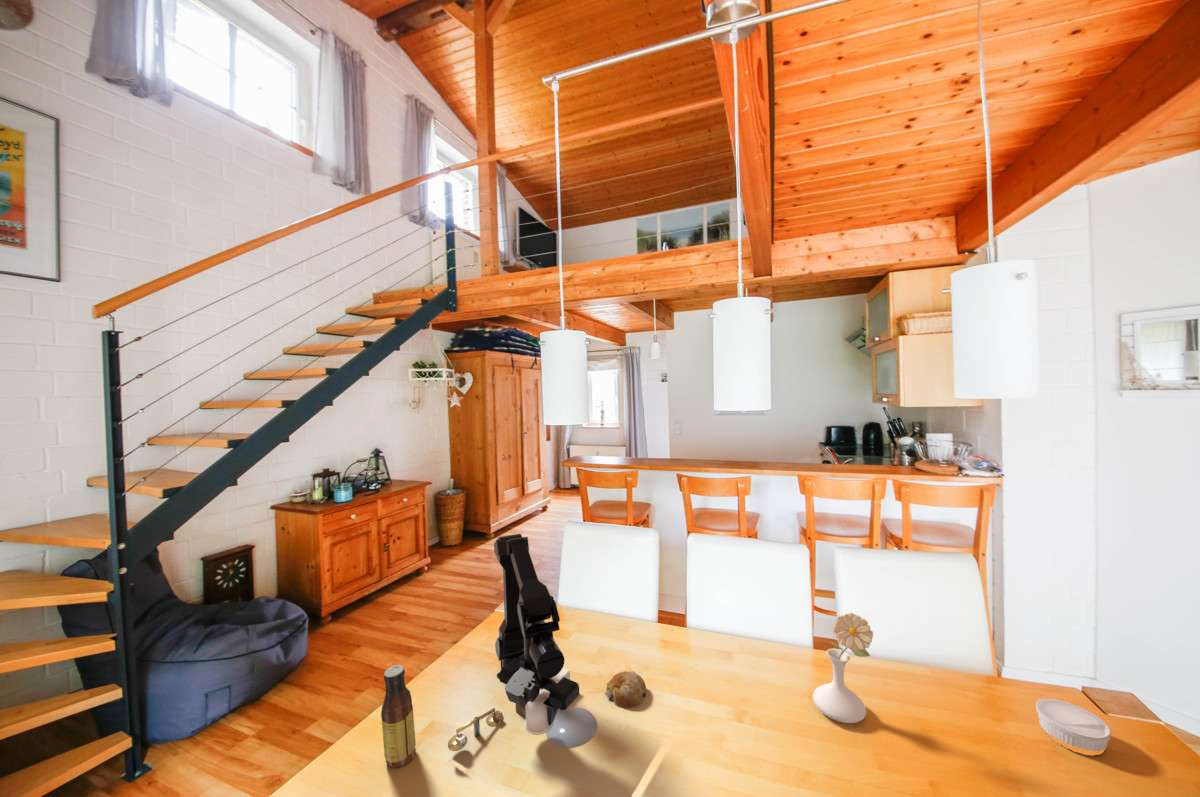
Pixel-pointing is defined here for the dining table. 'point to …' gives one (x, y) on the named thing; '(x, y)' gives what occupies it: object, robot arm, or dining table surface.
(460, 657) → the dining table surface
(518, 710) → the walnut block
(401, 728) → the sauce bottle
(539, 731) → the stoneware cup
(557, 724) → the dish
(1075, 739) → the ramekin
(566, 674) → the beige block
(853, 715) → the flower in vase
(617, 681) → the bread roll
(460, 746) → the balance
